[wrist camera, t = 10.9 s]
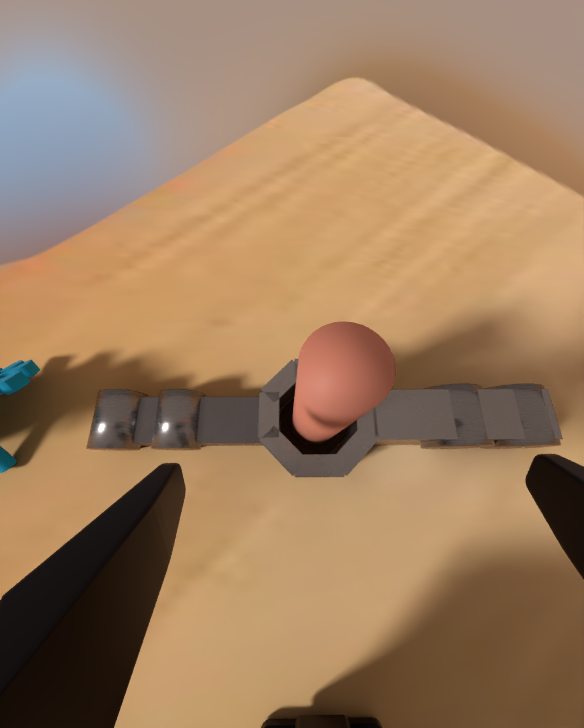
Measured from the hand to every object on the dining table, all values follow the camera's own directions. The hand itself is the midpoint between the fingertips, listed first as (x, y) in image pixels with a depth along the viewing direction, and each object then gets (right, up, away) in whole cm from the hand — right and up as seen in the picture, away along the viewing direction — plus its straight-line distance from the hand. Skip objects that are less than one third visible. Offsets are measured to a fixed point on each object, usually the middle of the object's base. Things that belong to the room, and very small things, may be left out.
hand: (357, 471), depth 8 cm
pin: (0, -2, +14) cm, 14 cm away
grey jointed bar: (0, -2, +14) cm, 14 cm away
